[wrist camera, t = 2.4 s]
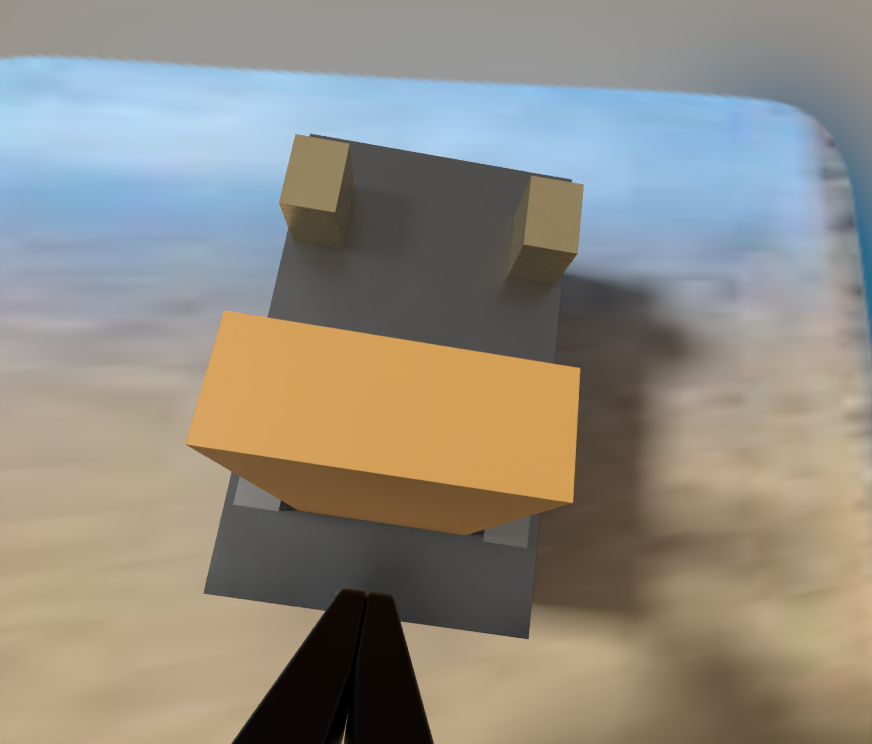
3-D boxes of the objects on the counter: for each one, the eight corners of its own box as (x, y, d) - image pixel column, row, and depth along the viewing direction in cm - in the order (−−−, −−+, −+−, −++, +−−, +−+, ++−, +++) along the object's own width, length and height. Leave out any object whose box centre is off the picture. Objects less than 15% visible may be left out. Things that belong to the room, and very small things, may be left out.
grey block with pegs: (487, 599, 20) (551, 660, 12) (260, 567, 19) (171, 607, 11) (525, 263, 23) (595, 137, 15) (331, 230, 22) (299, 84, 15)
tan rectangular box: (468, 476, 14) (461, 536, 14) (315, 453, 14) (303, 513, 14) (579, 368, 6) (573, 503, 6) (224, 309, 6) (184, 444, 6)
